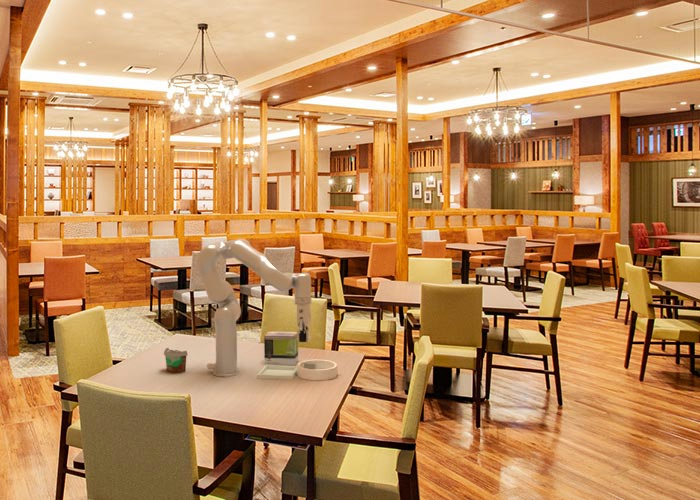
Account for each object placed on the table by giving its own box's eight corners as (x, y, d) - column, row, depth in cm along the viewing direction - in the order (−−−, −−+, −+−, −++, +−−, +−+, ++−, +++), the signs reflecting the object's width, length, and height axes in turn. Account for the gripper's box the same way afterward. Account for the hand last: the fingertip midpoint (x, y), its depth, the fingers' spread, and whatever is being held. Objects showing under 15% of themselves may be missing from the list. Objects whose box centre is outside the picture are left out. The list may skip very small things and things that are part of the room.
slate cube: (304, 374, 277) (304, 363, 276) (306, 371, 282) (306, 360, 281) (314, 374, 276) (315, 364, 276) (316, 371, 281) (316, 361, 281)
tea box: (298, 360, 303) (298, 331, 302) (294, 366, 293) (294, 336, 292) (268, 359, 304) (268, 330, 303) (263, 365, 294) (263, 334, 293)
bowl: (293, 380, 271) (293, 369, 270) (301, 368, 288) (301, 358, 288) (334, 381, 269) (334, 371, 268) (339, 370, 287) (339, 360, 286)
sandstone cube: (297, 342, 275) (297, 331, 274) (299, 339, 280) (299, 328, 279) (308, 342, 274) (308, 331, 274) (310, 339, 279) (310, 328, 279)
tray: (256, 379, 271) (256, 374, 271) (265, 369, 287) (265, 365, 287) (292, 380, 270) (292, 376, 270) (299, 370, 286) (299, 366, 285)
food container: (158, 371, 282) (157, 350, 281) (167, 368, 287) (167, 347, 286) (178, 375, 276) (178, 353, 275) (187, 372, 281) (187, 350, 280)
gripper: (307, 303, 266) (308, 344, 268) (314, 297, 283) (315, 336, 285) (291, 303, 267) (292, 344, 269) (298, 297, 284) (299, 336, 286)
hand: (304, 339), depth 277 cm, fingers closed on sandstone cube, 5 cm apart
